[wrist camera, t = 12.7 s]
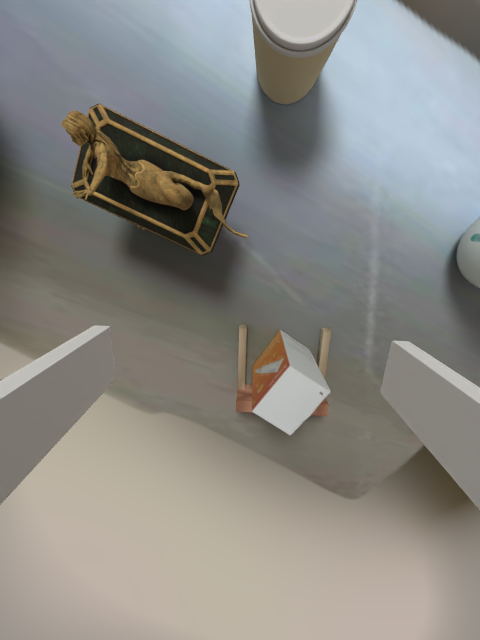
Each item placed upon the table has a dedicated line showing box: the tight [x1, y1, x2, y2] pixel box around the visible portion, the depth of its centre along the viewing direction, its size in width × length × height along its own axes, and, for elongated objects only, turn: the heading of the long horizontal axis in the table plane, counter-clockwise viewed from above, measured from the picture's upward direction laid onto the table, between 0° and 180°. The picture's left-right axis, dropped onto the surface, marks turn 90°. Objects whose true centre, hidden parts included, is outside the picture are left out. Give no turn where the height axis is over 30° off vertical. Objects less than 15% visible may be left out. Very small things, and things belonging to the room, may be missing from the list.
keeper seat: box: [236, 325, 331, 416], centre depth 42 cm, size 14×13×5 cm
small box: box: [252, 330, 331, 435], centre depth 38 cm, size 8×6×13 cm
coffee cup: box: [250, 0, 357, 104], centre depth 27 cm, size 9×9×12 cm
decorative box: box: [62, 104, 248, 255], centre depth 29 cm, size 20×10×20 cm, turn 65°
